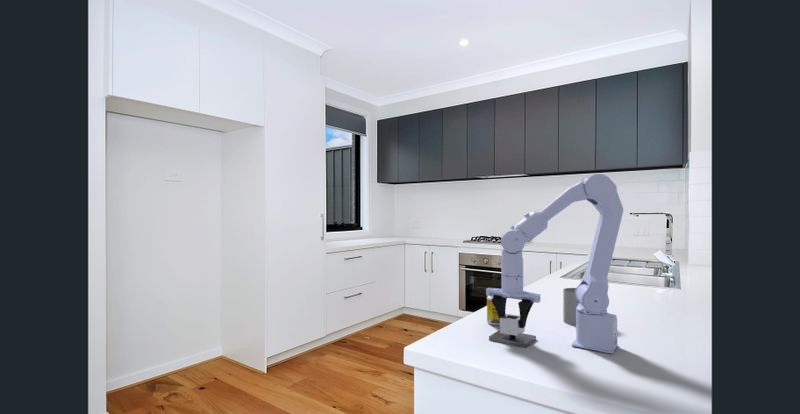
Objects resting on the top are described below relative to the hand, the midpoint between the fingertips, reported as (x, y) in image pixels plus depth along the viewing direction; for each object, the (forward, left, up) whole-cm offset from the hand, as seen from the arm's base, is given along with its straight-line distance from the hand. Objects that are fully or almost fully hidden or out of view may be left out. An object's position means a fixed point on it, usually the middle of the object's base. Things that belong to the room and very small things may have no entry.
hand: (512, 325), depth 107 cm
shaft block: (0, 0, -4) cm, 4 cm away
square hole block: (0, 0, -2) cm, 2 cm away
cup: (-10, -28, -4) cm, 30 cm away
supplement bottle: (+10, -12, -4) cm, 16 cm away
